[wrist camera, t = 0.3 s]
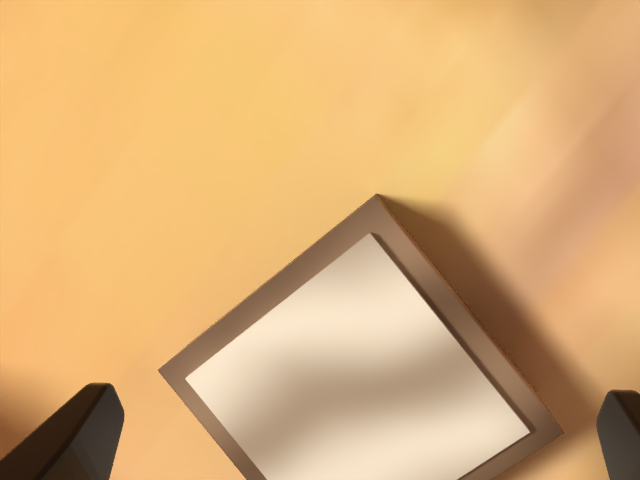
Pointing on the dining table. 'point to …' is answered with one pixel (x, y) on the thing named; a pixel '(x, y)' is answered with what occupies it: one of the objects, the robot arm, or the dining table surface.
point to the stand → (360, 370)
